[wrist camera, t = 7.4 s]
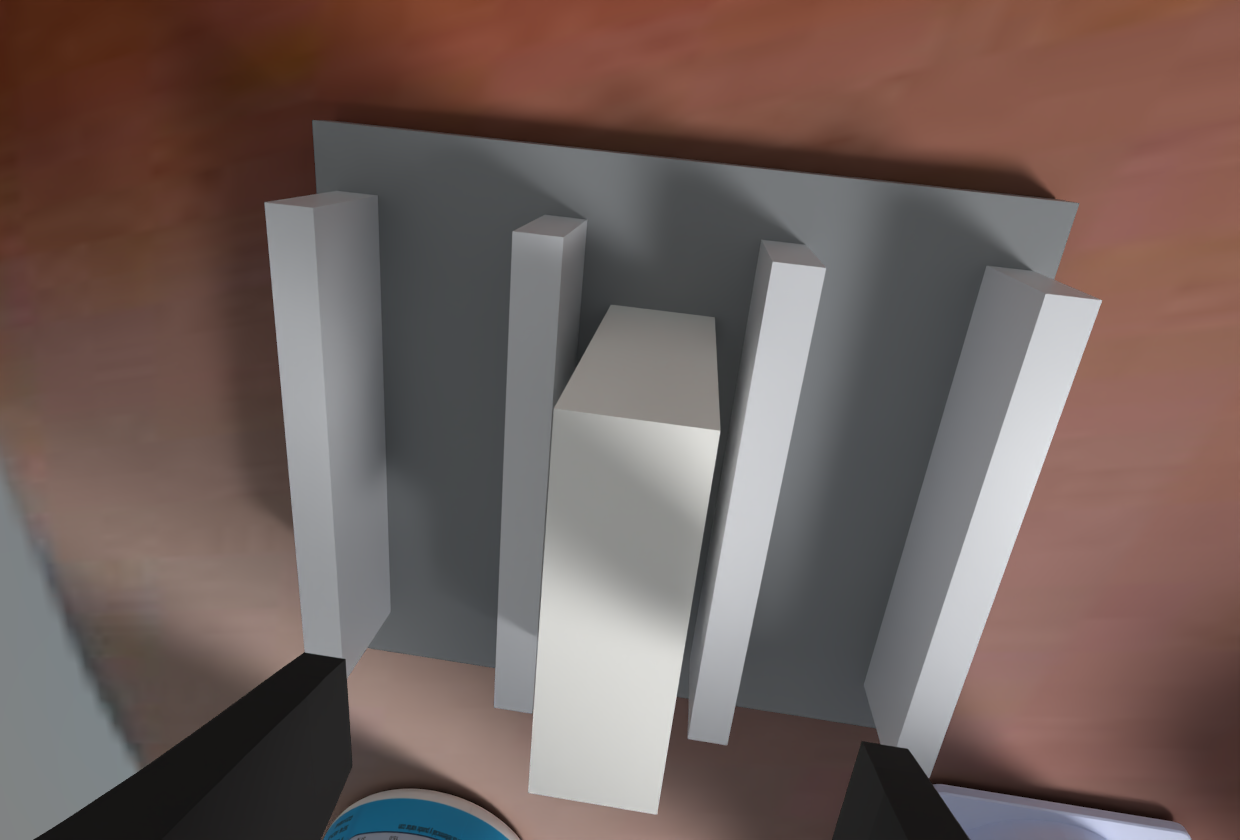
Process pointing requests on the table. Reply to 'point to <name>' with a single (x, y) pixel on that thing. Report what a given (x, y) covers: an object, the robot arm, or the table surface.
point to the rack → (748, 403)
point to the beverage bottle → (417, 818)
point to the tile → (622, 554)
